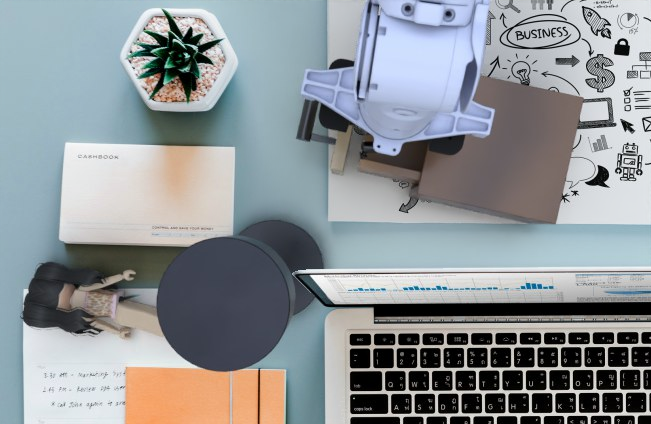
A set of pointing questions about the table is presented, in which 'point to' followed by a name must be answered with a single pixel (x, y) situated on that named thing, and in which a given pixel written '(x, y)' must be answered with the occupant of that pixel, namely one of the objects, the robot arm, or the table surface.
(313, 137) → the drawer
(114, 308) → the toy figure
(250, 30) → the table surface
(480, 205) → the cabinet
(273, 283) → the desk lamp
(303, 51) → the table surface
